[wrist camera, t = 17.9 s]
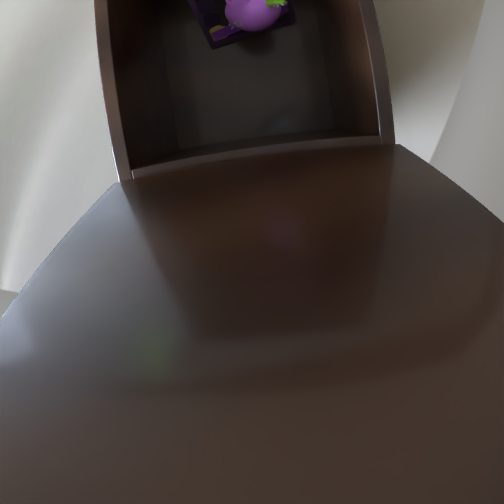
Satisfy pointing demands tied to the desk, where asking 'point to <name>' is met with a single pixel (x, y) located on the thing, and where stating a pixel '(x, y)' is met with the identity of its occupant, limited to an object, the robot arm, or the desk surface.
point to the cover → (263, 341)
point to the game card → (241, 18)
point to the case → (238, 84)
